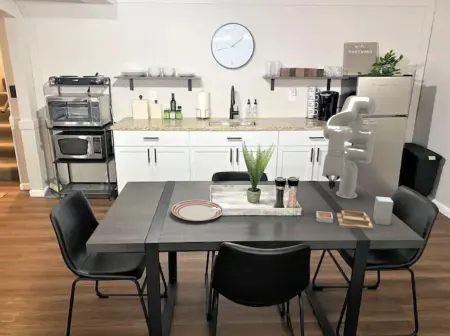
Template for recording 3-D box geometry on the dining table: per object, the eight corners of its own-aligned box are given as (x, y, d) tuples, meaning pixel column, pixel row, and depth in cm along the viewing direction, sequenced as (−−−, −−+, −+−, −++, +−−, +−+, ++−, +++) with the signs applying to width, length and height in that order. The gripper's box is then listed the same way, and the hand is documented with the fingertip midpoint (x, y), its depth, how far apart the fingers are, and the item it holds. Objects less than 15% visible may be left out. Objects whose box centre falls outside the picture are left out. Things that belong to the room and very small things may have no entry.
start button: (319, 215, 193) (319, 211, 192) (328, 216, 192) (329, 212, 191) (319, 219, 188) (319, 215, 187) (329, 220, 187) (329, 216, 186)
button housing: (315, 215, 195) (316, 210, 194) (331, 216, 193) (331, 212, 192) (316, 221, 187) (317, 216, 186) (332, 223, 186) (333, 218, 185)
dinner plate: (233, 214, 194) (234, 208, 193) (196, 230, 174) (196, 223, 173) (198, 201, 212) (198, 196, 211) (160, 214, 192) (160, 208, 191)
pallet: (336, 214, 196) (337, 208, 195) (367, 217, 193) (368, 211, 192) (339, 226, 181) (340, 220, 180) (373, 230, 178) (374, 223, 177)
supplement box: (390, 225, 184) (393, 202, 181) (374, 224, 186) (378, 200, 182) (387, 219, 191) (390, 197, 188) (372, 218, 193) (375, 196, 189)
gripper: (351, 152, 182) (347, 187, 187) (320, 150, 186) (317, 184, 191) (351, 156, 175) (346, 192, 180) (319, 153, 179) (316, 188, 184)
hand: (331, 187), depth 185 cm, fingers closed
